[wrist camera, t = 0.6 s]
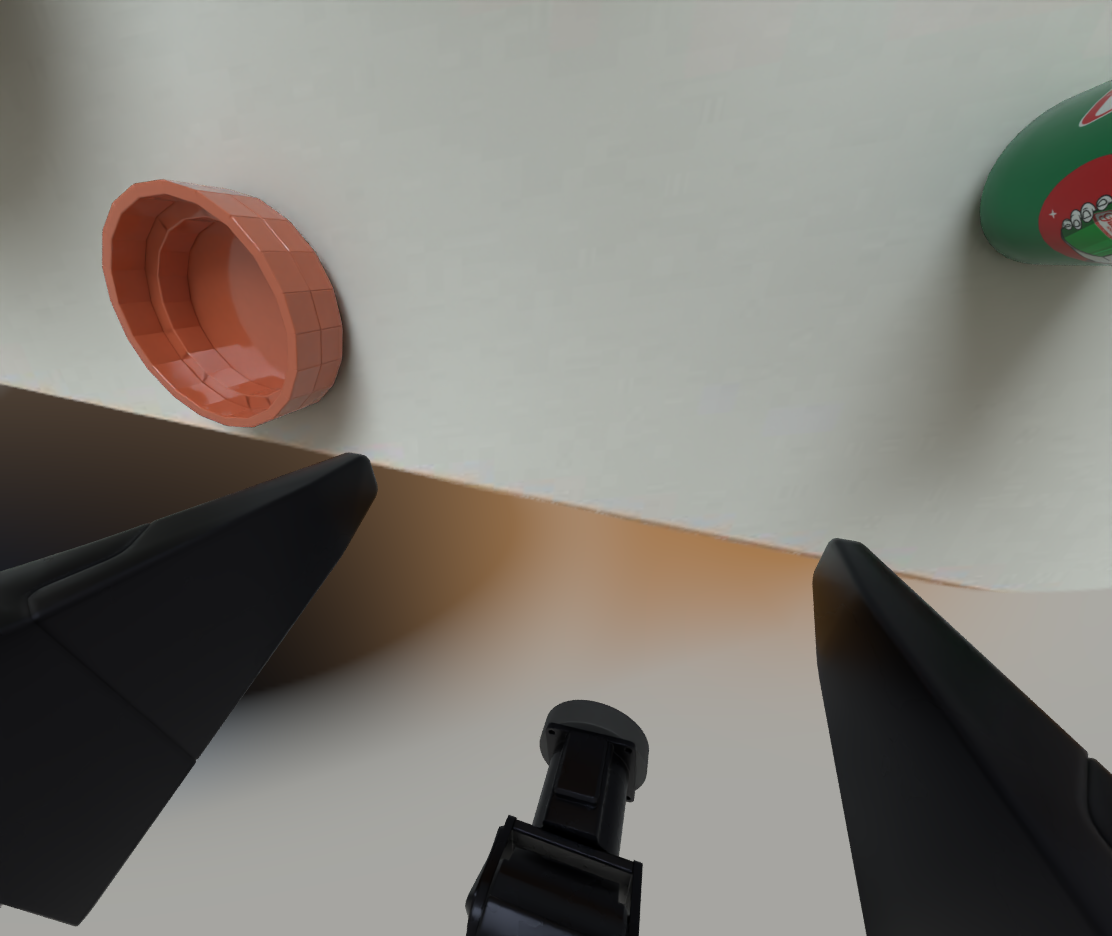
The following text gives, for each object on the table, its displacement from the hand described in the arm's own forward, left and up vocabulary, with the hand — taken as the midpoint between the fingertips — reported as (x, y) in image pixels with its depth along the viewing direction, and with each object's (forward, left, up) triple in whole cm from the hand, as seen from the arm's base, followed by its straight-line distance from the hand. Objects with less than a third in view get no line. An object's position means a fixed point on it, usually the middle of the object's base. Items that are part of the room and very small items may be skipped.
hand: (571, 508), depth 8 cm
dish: (+3, +23, -15) cm, 28 cm away
